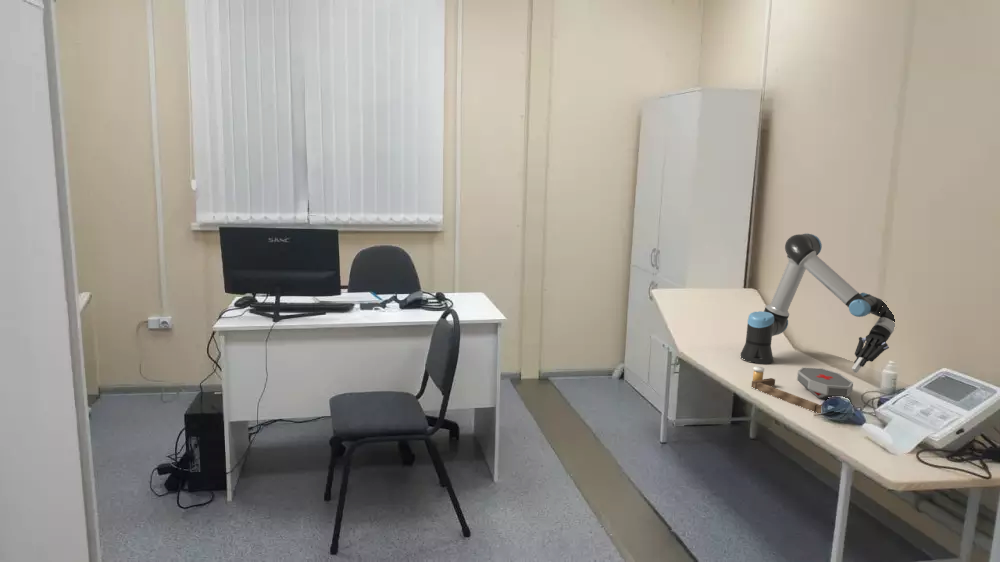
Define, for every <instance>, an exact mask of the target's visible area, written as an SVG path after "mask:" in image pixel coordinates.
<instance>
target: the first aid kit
mask: <svg viewBox="0 0 1000 562" xmlns="http://www.w3.org/2000/svg"><path fill="white" fill-rule="evenodd" d="M796 381H798V382H799V383H800V385H802V386H803V387H804V388H806V389H807V390H808V391H809V392H811V393H812V394H813V395H814V396H815V397H816V398H817V399H827V398H828V397H832V396H843V397H845V398H846V397H847V398H848V397H849V396H850V395H851V394H852V392H853V387H854V381H852V380H850V379H848V378H847V377H845V376H844V375H842V373H839V372H836V371H833V370H829V369H826V368H824V367H823V368H821V367H820V368H819V367H803V366H802V367H800V369H799V370H797V375H796Z"/></svg>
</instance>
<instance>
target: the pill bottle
mask: <svg viewBox="0 0 1000 562" xmlns="http://www.w3.org/2000/svg"><path fill="white" fill-rule="evenodd" d="M752 370H753V372H752V373H753V375H752V381H756V380H762V379H764V372H765V368H764V367H763V366H753V369H752Z"/></svg>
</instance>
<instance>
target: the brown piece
mask: <svg viewBox="0 0 1000 562" xmlns="http://www.w3.org/2000/svg"><path fill="white" fill-rule="evenodd" d="M775 384H776V378H772V377H770V378H763V379H762V380H756V381H753V380H752V381H751V385H750V386H751V387H753V388H756V389H758V390H760V391H759V392H761V391H762V392H761V393H763V392H764V393H763V394H766V393H767V394H766V395H768V394H769V396H771V395H772V396H771V397H774V396H775V397H774V398H776V397H777V399H779V398H780V399H779V400H781V399H782V400H781V401H784V402H786V401H787V403H790V404H792V405H794V404H795V405H794V406H797V405H798V407H799V406H801V407H800V408H802V407H803V408H802V409H804V408H806V409H805V410H807V409H809V410H808V411H810V410H812V411H814V412H813V413H816V412H817V413H821V406H822V404H823V403H821V404H819V403H816V402H814V401H810V400H808V399H806V398H803V397H800V396H798V395H795V394H792V393H789V392H787V391H784V390H781V389H779V388H776V385H775ZM771 386H772V387H771ZM751 387H750V388H751ZM753 388H752V389H753ZM756 389H755V390H756ZM758 390H757V391H758ZM812 411H811V412H812ZM815 411H816V412H815ZM817 413H816V414H817Z"/></svg>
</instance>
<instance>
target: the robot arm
mask: <svg viewBox="0 0 1000 562" xmlns="http://www.w3.org/2000/svg"><path fill="white" fill-rule="evenodd" d="M822 246H823V244H822V242H821V240H820V237H818V236H816V235H815V234H812V233H802V234H794V235H791V236H789V238H787V240H786V242H785V244H784V250H785V253H786V255H787V256H786V257H787V260H788V261H787V264H786V267H785V269H784V270H783V271H784V272H783V274H782V277H781V278H780V280H779V283H778V285H777V287H776V290H775V293H774V295H773V297H772V299H771V301H770V304H767V305H765V308H764V310H763V311H762V310H761V311H760V310H759V311H753V312H750V314H748V319H747V327H746V337H745V343H744V346H743V348H742V350H741V352H740V356H741V358H743V359H745V360H747V361H751V362H755V363H754V364H757V363H761V364H760V365H769V363H770V364H772V362H774V355H773V351H772V339H773V337H774V336H778V335H781V334H782V333H784V332H785V331H786V329H787V328H788V326H789V320H788V319H789V318H790V313H789V309H790V306H791V304H792V302H793V299H794V297H795V295H796V292H797V291H798V289H799V286H800V284H801V281H802V279H803V277H804V275H805V272H806V271H807V272H808V273H810V274H811V275H812V276H813V277H814V278H815V279H816V280H818V281H819V283H821V285H823V286H824V287H825V288H826V289H827V290H829V292H831V293H832V294H833V295H834V296H836V298H837V299H839V300H840V302H842V303H843V304H844V305H845V306H847V308H848V311H849V313H850V314H851V315H852V316H854V317H857V318H858V317H859V318H860V317H861V318H863V317H866V316H868V315H870V314H871V315H874V316H877V317H878V319H877V321H876V322H875V323H874V325H873V326H872V328H871V329H870V330H869V333H868V334H867V335H866V336H865V337H862V336H860V337H858V344H857V346H856V348H855V351H854V355H855V357H856V358H855V360H854V364H853V365H852V367H851V370H852V372H853V373H855V374H858V372H859V371H860V369H861V368H863V367H865V365H866V364H867V362H873V361H875V360H876V359H878V357H879V356H880V355H881V354H882V353H884V352H885V351H886V350H888V349H889V348H890V347H889V345H888V343H887V341H888V340H889V338H890V337H891V335H892V334H893V333H894V331H895V330H894V327H895V323H894V322H895V319H894V315H893V314H892V312H891V311H890V310H889V308H888V307H887V305H886V304H885V303H884V302H883V301H882V300H883V299H881V298H879V297H876V296H874V295H872V294H870V293H866V292H861V293H860V292H859V291H858V290H856V289H855V288H854V287H853V286H852V285H851V284H850V283H849V282H847V281H846V280H845V279H844V278H842V277H841V275H839V273H838V272H836V271H835V270H834V269H833V268H832V267H830V266H829V265H828V264H827V263H826V262H825V261H824V260H822V258H820V257H819V254H820V253H821V251H822ZM882 306H883V307H882ZM879 312H880V313H879ZM893 321H894V322H893ZM864 344H865V345H864ZM740 356H739V357H740ZM741 358H740V359H741ZM747 361H746V362H747ZM751 362H750V363H751Z"/></svg>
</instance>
